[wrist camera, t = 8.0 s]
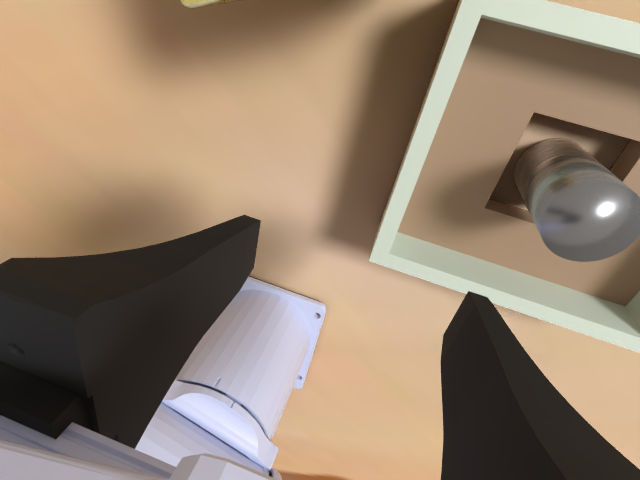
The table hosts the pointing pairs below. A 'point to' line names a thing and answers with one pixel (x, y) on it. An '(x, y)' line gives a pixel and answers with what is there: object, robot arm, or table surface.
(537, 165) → the peg
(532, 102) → the box
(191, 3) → the flower pot
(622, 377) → the table surface
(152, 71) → the table surface
